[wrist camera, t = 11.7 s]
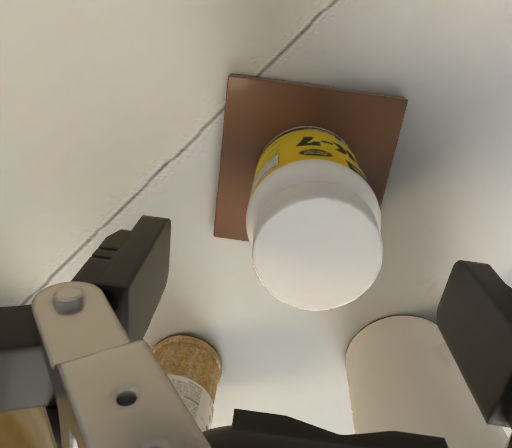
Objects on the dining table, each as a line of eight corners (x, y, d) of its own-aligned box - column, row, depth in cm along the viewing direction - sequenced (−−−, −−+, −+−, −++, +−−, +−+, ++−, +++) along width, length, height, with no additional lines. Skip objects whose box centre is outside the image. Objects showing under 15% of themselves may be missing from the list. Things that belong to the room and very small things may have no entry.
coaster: (229, 73, 20) (228, 74, 19) (405, 97, 20) (408, 99, 19) (214, 231, 23) (213, 236, 23) (365, 252, 23) (367, 258, 23)
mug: (412, 415, 28) (496, 670, 17) (319, 374, 27) (343, 615, 16) (522, 297, 24) (727, 530, 13) (417, 244, 23) (542, 446, 12)
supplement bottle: (377, 158, 20) (433, 238, 13) (319, 235, 22) (337, 346, 15) (290, 103, 20) (294, 152, 12) (237, 187, 21) (211, 277, 14)
